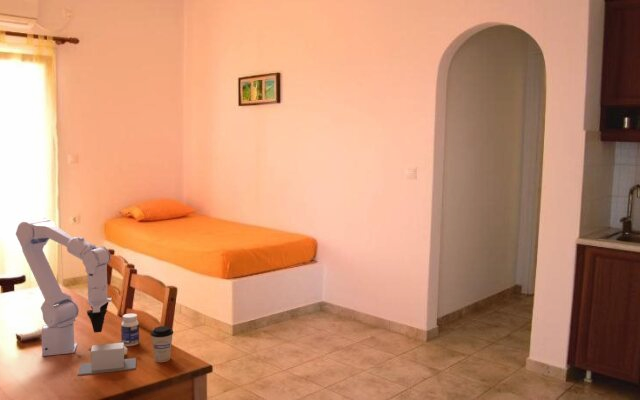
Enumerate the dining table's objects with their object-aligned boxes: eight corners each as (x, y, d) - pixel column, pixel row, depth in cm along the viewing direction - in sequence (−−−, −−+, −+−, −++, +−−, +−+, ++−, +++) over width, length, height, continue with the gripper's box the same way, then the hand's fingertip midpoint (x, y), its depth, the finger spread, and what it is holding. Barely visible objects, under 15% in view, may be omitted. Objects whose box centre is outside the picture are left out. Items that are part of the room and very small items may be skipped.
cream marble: (117, 357, 171) (117, 348, 170) (117, 354, 173) (117, 345, 173) (127, 356, 172) (127, 347, 171) (127, 353, 174) (127, 344, 174)
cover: (91, 370, 159) (90, 351, 159) (92, 364, 164) (92, 345, 164) (123, 367, 162) (123, 348, 162) (124, 361, 167) (123, 342, 166)
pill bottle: (133, 347, 179) (132, 318, 178) (118, 346, 180) (117, 317, 179) (142, 341, 185) (141, 313, 184) (127, 340, 186) (126, 312, 185)
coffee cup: (153, 355, 173) (153, 325, 172) (175, 354, 173) (175, 324, 172) (148, 364, 166) (148, 332, 165) (171, 363, 166) (171, 332, 166)
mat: (77, 375, 157) (77, 374, 157) (80, 365, 165) (80, 363, 164) (135, 369, 162) (135, 367, 162) (135, 359, 170) (135, 357, 169)
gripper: (109, 291, 163) (111, 334, 165) (112, 279, 177) (113, 319, 178) (84, 292, 161) (86, 336, 163) (89, 281, 175) (90, 321, 176)
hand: (98, 327), depth 170 cm, fingers open, 7 cm apart
